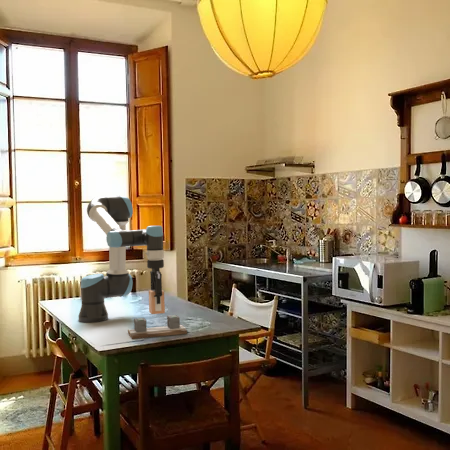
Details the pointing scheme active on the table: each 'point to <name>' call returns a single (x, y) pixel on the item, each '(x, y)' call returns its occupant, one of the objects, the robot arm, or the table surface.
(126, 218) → the robot arm
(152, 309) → the block
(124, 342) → the table surface
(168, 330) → the wooden fixture stand
